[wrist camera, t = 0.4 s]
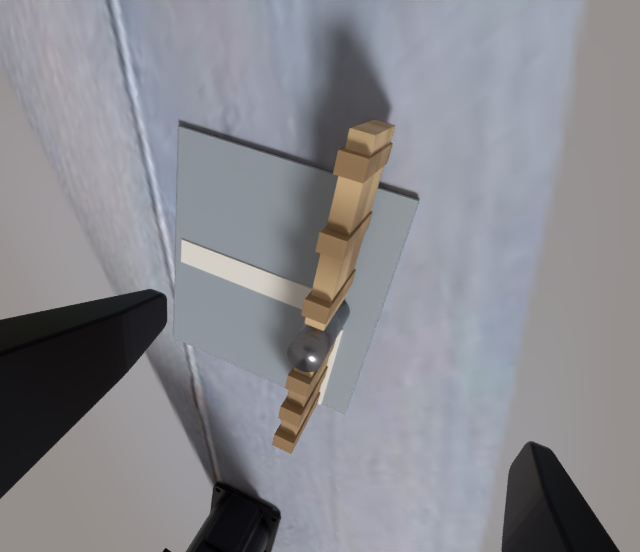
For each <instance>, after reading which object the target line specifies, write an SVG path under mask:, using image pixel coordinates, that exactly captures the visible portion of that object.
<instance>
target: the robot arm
mask: <svg viewBox="0 0 640 552" xmlns="http://www.w3.org/2000/svg"><path fill="white" fill-rule="evenodd" d="M166 323H167V298H166V295H165V294H163V293H161V292H158V291H156V290H153V289H148V290H143V291H138V292H133V293H128V294H123V295H118V296H114V297H109V298H104V299H99V300H94V301H89V302H85V303H80V304H75V305H70V306H66V307H61V308H55V309H50V310H46V311H41V312H36V313H31V314H26V315H21V316H17V317H12V318H7V319H2V320H0V499H1V498H2V497H3V496H4V495H5V494H6V493H7V492H8V491H9V490H10V489H11V488H12V487H13V486H14V485H15V484H16V483H17V482H18V481H19V480H20V479H21V478H22V477H23V476H24V475H25V474H26V473H27V472H28V471H29V470H30V469H31V468H32V467H33V466H34V465H35V464H36V463H37V462H38V461H39V460H40V459H41V458H42V457H43V456H44V455H45V454H46V453H47V452H48V451H49V450H50V449H51V448H52V447H53V446H54V445H55V444H56V443H57V442H58V441H59V440H60V439H61V438H62V437H63V436H64V435H65V434H66V433H67V432H68V431H69V430H70V429H71V428H72V427H73V426H74V425H75V424H76V423H77V422H78V421H79V420H80V419H81V418H82V417H83V416H84V415H85V414H86V413H87V412H88V411H89V410H90V409H91V408H92V407H93V406H94V405H95V404H96V403H97V402H98V401H99V400H100V399H101V398H102V397H103V396H104V395H105V394H106V393H107V392H108V391H109V390H110V389H111V388H112V387H113V386H114V385H115V384H116V383H117V382H118V381H119V380H120V379H121V378H122V377H123V376H124V375H125V374H126V373H127V372H128V371H129V369H131V367H132V366H133V365H134V364H135V363H136V361H137V360H138V359H139V358H140V356H142V354H143V353H144V352H145V351H146V349H147V348H148V347H149V346H150V345H151V343H152V342H153V341H154V340H155V339H156V337H157V336H158V335H159V334H160V332H161V331H162V330H163V329H164V327H165V325H166ZM506 495H507V496H506V505H505V515H504V526H503V536H502V552H620V551H619V550H618V549H617V547H616V545H615V544H614V542H613V541H612V539H611V538H610V536H609V535H608V533H607V532H606V530H605V529H604V527H603V526H602V524H601V523H600V522H599V520H598V518H597V517H596V515H595V514H594V512H593V511H592V509H591V508H590V506H589V505H588V503H587V502H586V501H585V499H584V497H583V496H582V494H581V493H580V492H579V490H578V489H577V487H576V486H575V484H574V483H573V481H572V480H571V478H570V477H569V475H568V474H567V472H566V471H565V469H564V468H563V466H562V465H561V463H560V462H559V460H558V459H557V457H556V456H555V454H554V453H553V452H552V450H551V449H549V448H548V447H545V446H543V445H540V444H538V443H535V442H532V441H529V442H527V443H526V444H525V445H524V447H523V448H522V450H521V451H520V453H519V454H518V456H517V457H516V459H515V460H514V462H513V463H512V465H511V467H510V470H509V475H508V485H507V494H506ZM280 520H281V516H280V514H279V513H277V512H275V511H273V510H272V509H270V508H268V507H266V506H264V505H262V504H260V503H258V502H256V501H254V500H252V499H250V498H249V497H247V496H245V495H243V494H241V493H239V492H237V491H235V490H233V489H231V488H229V487H227V486H226V485H224V484H222V483H219V482H217V483H216V484H215V486H214V487H213V494H212V503H211V512H210V514H209V516H208V517H207V519H206V521H205V522H204V524H203V525H202V527H201V528H200V530H199V532H198V533H197V535H196V536H195V538H194V540H193V541H192V543H191V544H190V546H189V547H188V549H187V551H186V552H271V551H272V548H273V545H274V541H275V537H276V534H277V530H278V527H279V523H280ZM163 552H171V551H170V550H168V549H167V548H165V549H164V551H163Z"/></svg>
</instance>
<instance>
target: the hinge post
mask: <svg viewBox="0 0 640 552" xmlns="http://www.w3.org/2000/svg"><path fill="white" fill-rule="evenodd" d="M349 315H350V309H349V306H348V304H347V303H346V302H345V301H344V300H343V302H342V303H341V305H340V306H339V308H338V310H337V311H336V313H335V314H334V316H333V317H332V319H331V320H330V322H329V324H328V325H327V327H326V328H325V330H324V331H322V330H320V329H317V328H315V327H312V326H310V325H307V324H305V325H304V326H303V328H302V329H301V330H300V332H299V333H298V334H297V336H296V337H295V339H294V340H293V341H292V343H291V344H290V345H289V347H288V349H287V356H288V359H289V361H290V362H291V364H292V365H293V366H294V367H296V368H297V369H299V370H301V371H303V372H315V371H317V370H318V369H319V368H320V366H321V365H322V363H323V361H324V359H325V358H326V356H327V354H328V352H329V351H330V349H331V347H332V345H333V344H334V342H335V340H336V338H337V337H338V335H339V333H340V331H341V330H342V328H343V326H344V324H345V323H346V321H347V319H348V317H349Z"/></svg>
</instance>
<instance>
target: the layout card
mask: <svg viewBox="0 0 640 552" xmlns="http://www.w3.org/2000/svg"><path fill="white" fill-rule="evenodd" d="M337 180H338V176H337V175H334V174H333V173H332V172H329V171H326V170H322V169H319V168H316V167H313V166H310V165H306V164H303V163H300V162H297V161H293V160H290V159H287V158H284V157H281V156H277V155H274V154H271V153H268V152H265V151H261V150H258V149H255V148H252V147H248V146H245V145H242V144H239V143H236V142H232V141H229V140H226V139H223V138H220V137H216V136H213V135H210V134H207V133H203V132H200V131H197V130H194V129H191V128H187V127H184V126H179V129H178V171H177V212H176V254H175V296H174V338H175V339H177V340H179V341H182V342H184V343H186V344H188V345H191V346H193V347H195V348H197V349H200V350H202V351H204V352H206V353H208V354H211V355H213V356H215V357H217V358H220V359H222V360H224V361H226V362H229V363H231V364H233V365H235V366H238V367H240V368H242V369H244V370H247V371H249V372H251V373H253V374H256V375H258V376H260V377H262V378H264V379H267V380H269V381H271V382H273V383H276V384H278V385H280V386H282V387H285V385H286V381H287V376H288V374H289V373H290V371H291V370H292V368H293V367H294V366H293V365H292V364H291V362H290V361H289V359H288V356H287V349H288V347H289V345H290V344H291V343H292V341H293V340H294V339H295V337H296V336H297V334H298V333H299V332H300V330H301V329H302V328H303V326H304V325H305V318H306V317H305V316H302V315H301V314H302V309H303V305H304V300H305V298H306V297H307V296H308V295H309V293H310V292H311V291H312V288H313V284H314V280H315V275H316V271H317V267H318V262H319V258H320V253H318V252H315V251H316V247H317V242H318V238H319V233H320V231H322V230H323V229H324V228H325V227H326V226H327V223H328V219H329V215H330V210H331V206H332V202H333V198H334V193H335V189H336V185H337ZM418 203H419V199H416V198H412V197H409V196H406V195H403V194H400V193H396V192H393V191H390V190H387V189H384V188H380V187H378V189H377V192H376V196H375V199H374V202H373V206H372V209H371V211H372V212H373V213H372V217H371V220H370V224H369V227H368V229H367V231H366V232H365V234H364V237H363V241H362V244H361V248H360V251H359V255H358V258H357V262H356V265H355V269H356V272H355V276H354V279H353V282H352V285H351V286H350V288H349V290H348V293H347V296H346V297H345V299H344V301H345V302H346V303H347V304H348V306H349V309H350V315H349V317H348V319H347V321H346V323H345V324H344V326H343V328H342V330H341V331H340V333H339V335H338V337H337V338H336V341H335V345H334V348H333V350H332V352H331V354H330V356H329V359H328V363H327V366H328V369H327V372H326V376H325V378H324V380H323V382H322V384H321V387H320V391H319V392H321V393H320V396H319V400H318V404H320V405H321V404H323V405H325V406H327V407H329V408H332V409H334V410H336V411H338V412H341V413H343V414H345V413H346V411H347V408H348V405H349V402H350V399H351V396H352V393H353V390H354V388H355V385H356V382H357V379H358V376H359V373H360V370H361V367H362V364H363V362H364V359H365V356H366V353H367V350H368V347H369V344H370V341H371V339H372V336H373V333H374V330H375V327H376V324H377V321H378V318H379V315H380V313H381V310H382V307H383V304H384V301H385V298H386V295H387V292H388V290H389V287H390V284H391V281H392V278H393V275H394V272H395V269H396V266H397V264H398V261H399V258H400V255H401V252H402V249H403V246H404V243H405V241H406V238H407V235H408V232H409V229H410V226H411V223H412V220H413V218H414V215H415V212H416V209H417V206H418Z"/></svg>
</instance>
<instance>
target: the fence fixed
mask: <svg viewBox="0 0 640 552" xmlns="http://www.w3.org/2000/svg"><path fill="white" fill-rule="evenodd" d="M335 341H336V340H335ZM334 345H335V342H334V344H333V345H332V347H331V349H330V351H329V352H328V354H327V356H326V358H325V359H324V361H323V363H322V365H321V366H320V368H319V369H318V370H317V371H315V372H303V371H301V370H299V369H297V368H296V367H293V368H292V370H291V371H290V373H289V374H288V376H287V381H286V385H285V388H286V389H288V390H289V392H288V396H287V397H286V399H285V401H284V402H283V404H282V405H281V408H280V412H279V417H278V418H280V419H282V422H281V424H280V426H279V428H278V429H277V431H276V433H275V434H274V439H273V443H272V445H274V446H276V447H278V448H280V449H282V450H284V451H286V452H288V453H290V454H291V453H292V451H293V449H294V447H295V445H296V443H297V442H298V440H299V438H300V436H301V434H302V432H303V430H304V428H305V426H306V424H307V422H308V420H309V418H310V416H311V414H312V412H313V411H314V409H315V407H316V405H317V403H318V400H319V396H320V393H321V392H319V391H320V387H321V384H322V382H323V380H324V378H325V376H326V372H327V369H328V366H327V363H328V359H329V356H330V354H331V352H332V350H333V348H334Z"/></svg>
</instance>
